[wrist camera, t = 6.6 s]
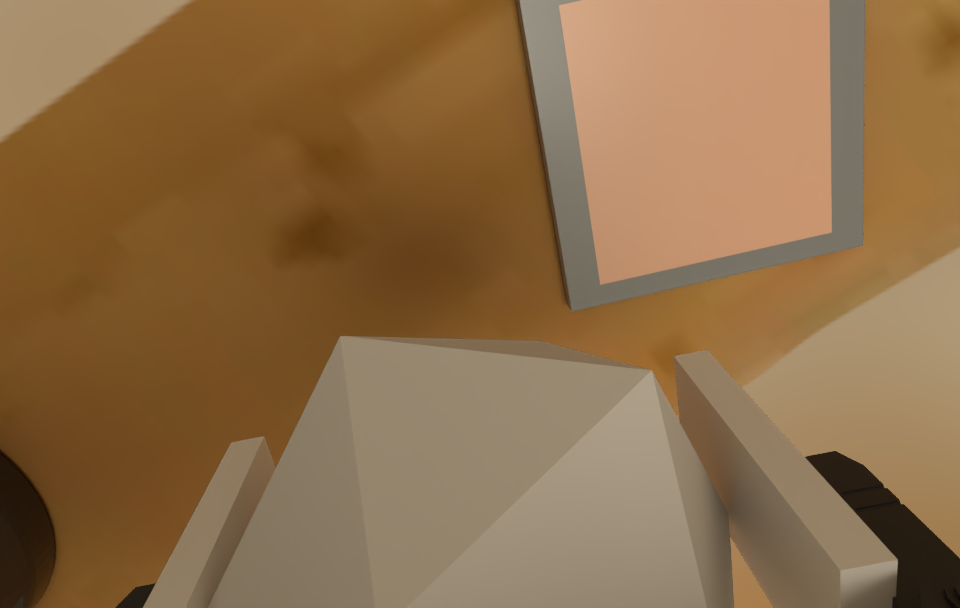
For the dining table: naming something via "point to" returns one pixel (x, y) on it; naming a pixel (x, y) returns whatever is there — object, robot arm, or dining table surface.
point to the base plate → (695, 136)
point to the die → (483, 487)
